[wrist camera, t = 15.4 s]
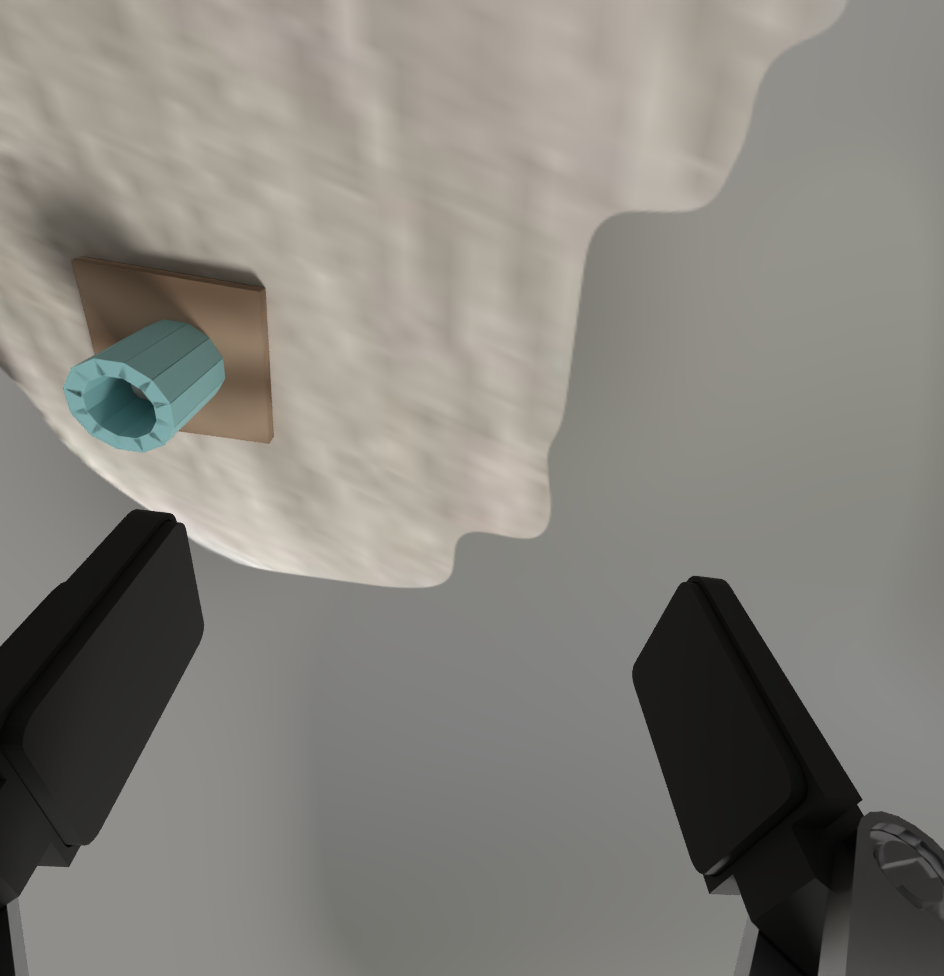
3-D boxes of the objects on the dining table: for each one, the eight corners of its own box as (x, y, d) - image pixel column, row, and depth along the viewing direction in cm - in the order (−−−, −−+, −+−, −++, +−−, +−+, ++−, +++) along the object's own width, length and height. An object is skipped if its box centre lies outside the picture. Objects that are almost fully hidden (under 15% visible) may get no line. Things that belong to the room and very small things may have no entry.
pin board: (82, 256, 34) (7, 277, 28) (265, 288, 35) (228, 313, 29) (121, 415, 40) (67, 457, 35) (273, 436, 41) (244, 480, 36)
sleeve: (130, 313, 34) (52, 352, 28) (220, 328, 35) (164, 369, 29) (146, 393, 38) (79, 443, 31) (228, 404, 38) (179, 457, 32)
